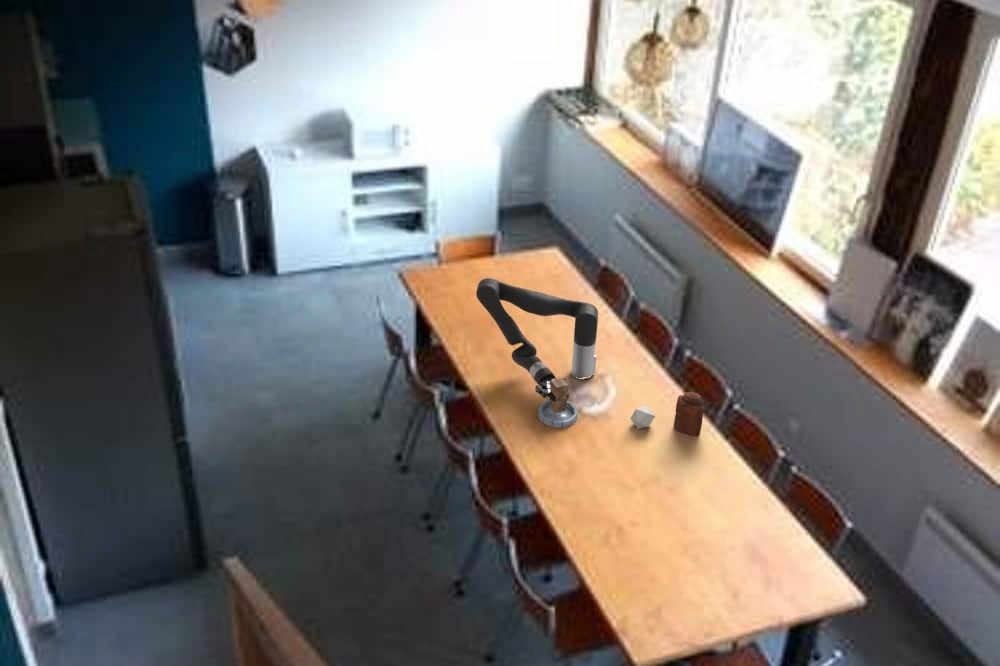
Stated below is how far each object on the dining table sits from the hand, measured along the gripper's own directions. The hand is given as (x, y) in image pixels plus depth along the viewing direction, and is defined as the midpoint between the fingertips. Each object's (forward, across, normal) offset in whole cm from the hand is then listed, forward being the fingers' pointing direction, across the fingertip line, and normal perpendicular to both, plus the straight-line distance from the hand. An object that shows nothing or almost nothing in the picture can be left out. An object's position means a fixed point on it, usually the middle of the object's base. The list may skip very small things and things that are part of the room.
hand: (561, 398), depth 412 cm
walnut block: (-3, 0, +7) cm, 7 cm away
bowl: (-2, 0, +10) cm, 11 cm away
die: (+17, +28, +10) cm, 34 cm away
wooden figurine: (+27, +43, +10) cm, 52 cm away
